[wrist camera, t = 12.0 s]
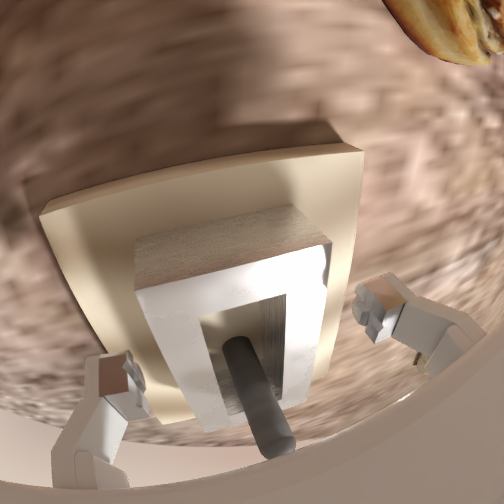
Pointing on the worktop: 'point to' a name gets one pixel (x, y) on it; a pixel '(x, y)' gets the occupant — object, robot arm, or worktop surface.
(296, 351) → the hollow rectangular frame
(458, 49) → the pastry
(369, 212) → the worktop surface
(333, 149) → the keeper stand
